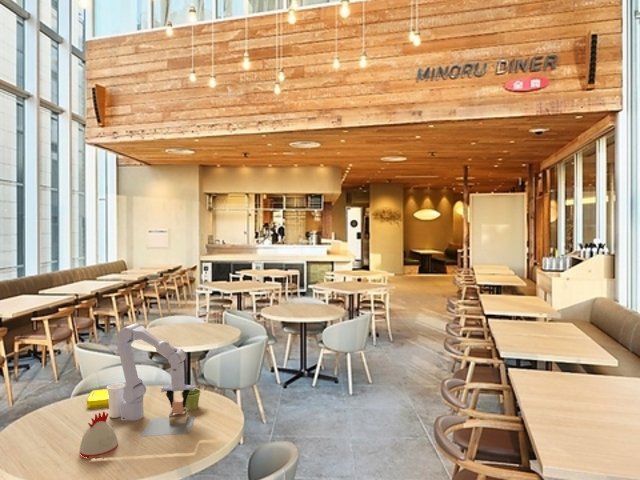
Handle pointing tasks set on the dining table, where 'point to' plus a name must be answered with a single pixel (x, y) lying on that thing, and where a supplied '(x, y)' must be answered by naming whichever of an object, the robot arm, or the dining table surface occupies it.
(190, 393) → the plant pot
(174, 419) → the birch socket block
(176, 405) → the terracotta block
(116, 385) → the cup
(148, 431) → the grey board
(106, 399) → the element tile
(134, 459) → the dining table surface
